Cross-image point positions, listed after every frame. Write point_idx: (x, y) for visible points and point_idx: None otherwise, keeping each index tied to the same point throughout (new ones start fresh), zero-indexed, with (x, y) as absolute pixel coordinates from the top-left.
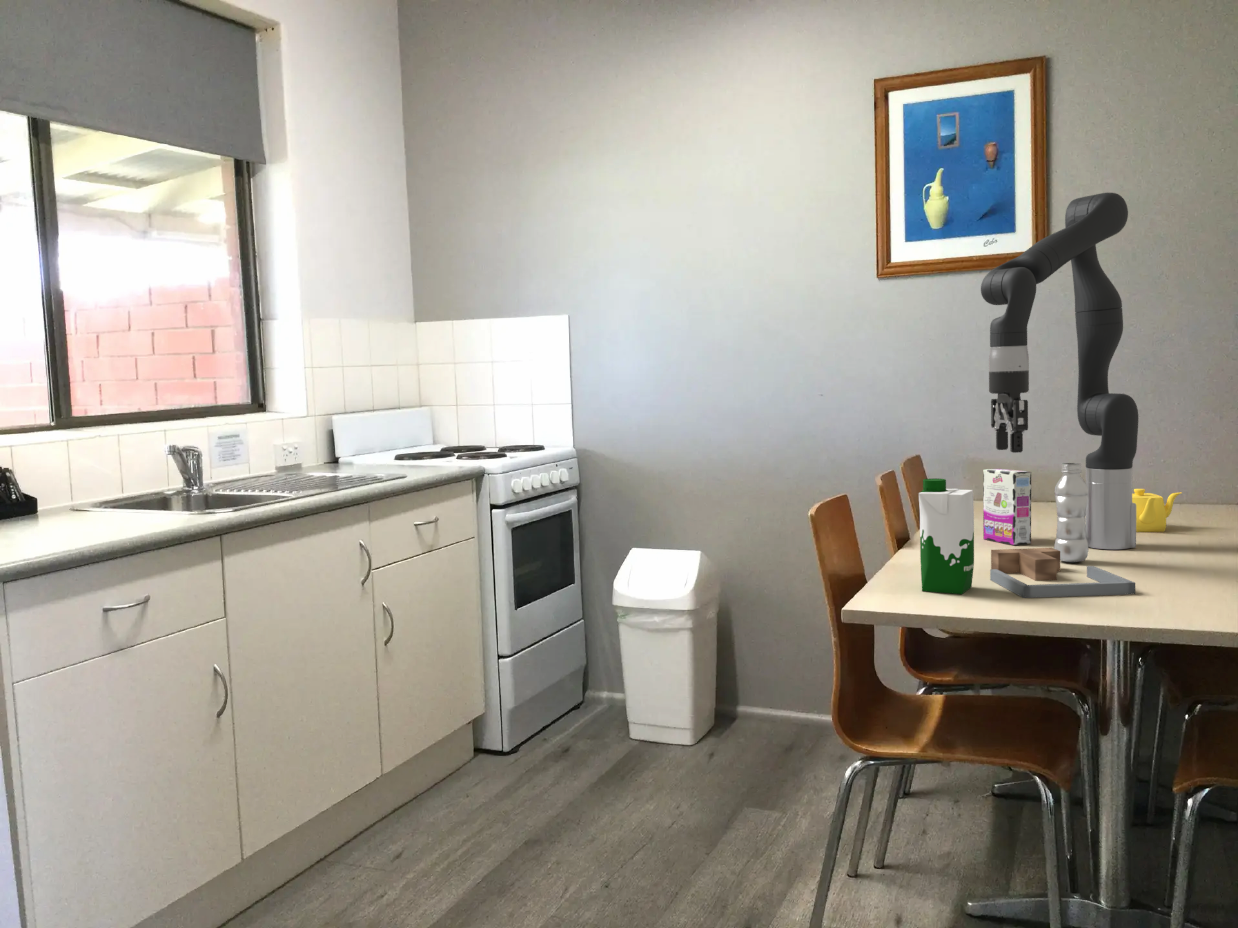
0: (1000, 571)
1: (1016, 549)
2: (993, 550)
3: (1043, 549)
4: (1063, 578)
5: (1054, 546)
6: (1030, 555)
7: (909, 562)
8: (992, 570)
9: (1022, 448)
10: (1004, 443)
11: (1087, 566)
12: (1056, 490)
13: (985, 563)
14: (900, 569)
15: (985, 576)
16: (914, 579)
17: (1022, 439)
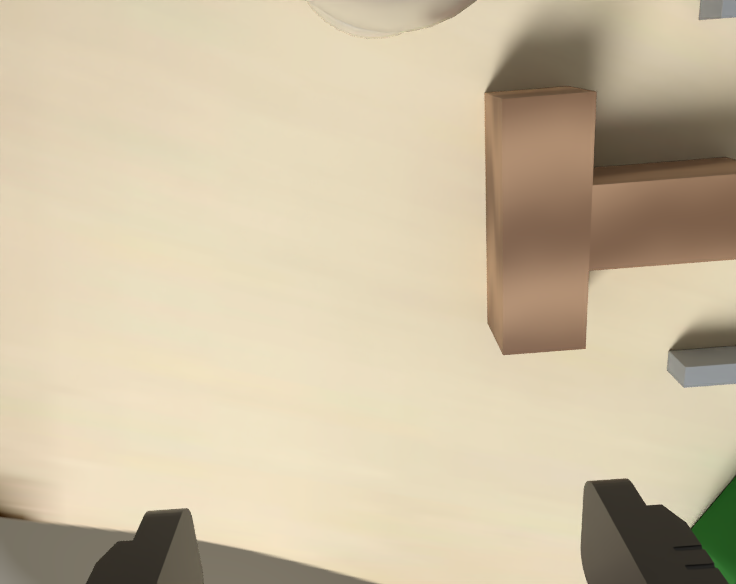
0: (729, 365)
1: (516, 260)
2: (522, 350)
3: (540, 150)
4: (706, 123)
5: (357, 34)
6: (667, 247)
7: (316, 534)
8: (704, 385)
9: (639, 496)
10: (178, 580)
11: (727, 17)
12: (413, 30)
13: (362, 311)
14: (437, 575)
15: (604, 369)
16: None
17: (684, 571)
